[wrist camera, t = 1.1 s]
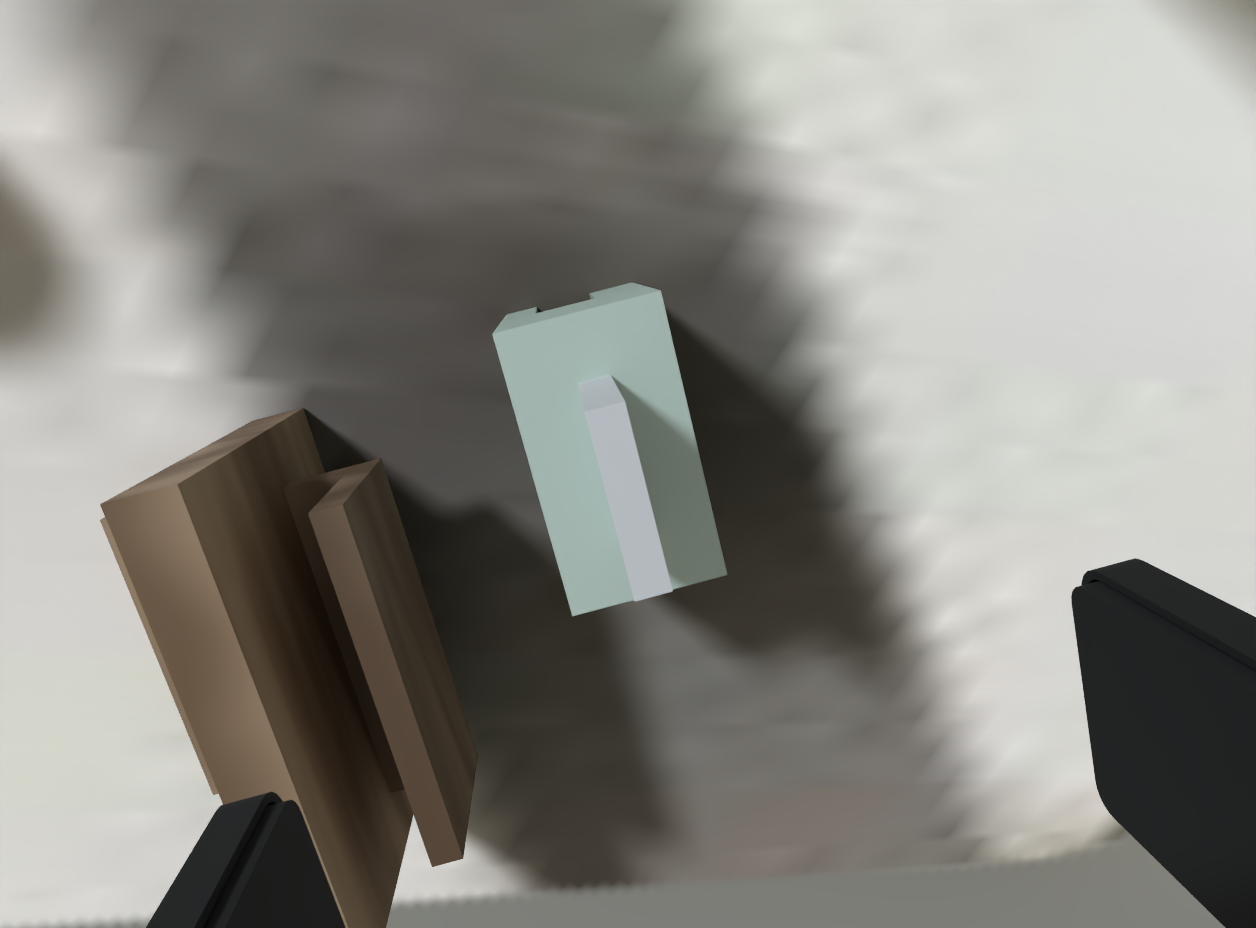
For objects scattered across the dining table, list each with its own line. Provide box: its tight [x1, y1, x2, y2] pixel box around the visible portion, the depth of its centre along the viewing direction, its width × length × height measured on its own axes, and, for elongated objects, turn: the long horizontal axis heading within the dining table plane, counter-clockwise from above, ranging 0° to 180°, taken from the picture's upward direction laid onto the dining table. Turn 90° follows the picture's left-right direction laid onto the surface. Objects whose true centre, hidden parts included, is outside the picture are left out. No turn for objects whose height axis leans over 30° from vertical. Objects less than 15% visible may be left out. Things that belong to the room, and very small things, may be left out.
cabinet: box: [493, 283, 727, 616], centre depth 29 cm, size 5×9×14 cm, turn 14°
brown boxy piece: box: [100, 408, 478, 928], centre depth 30 cm, size 11×16×12 cm
